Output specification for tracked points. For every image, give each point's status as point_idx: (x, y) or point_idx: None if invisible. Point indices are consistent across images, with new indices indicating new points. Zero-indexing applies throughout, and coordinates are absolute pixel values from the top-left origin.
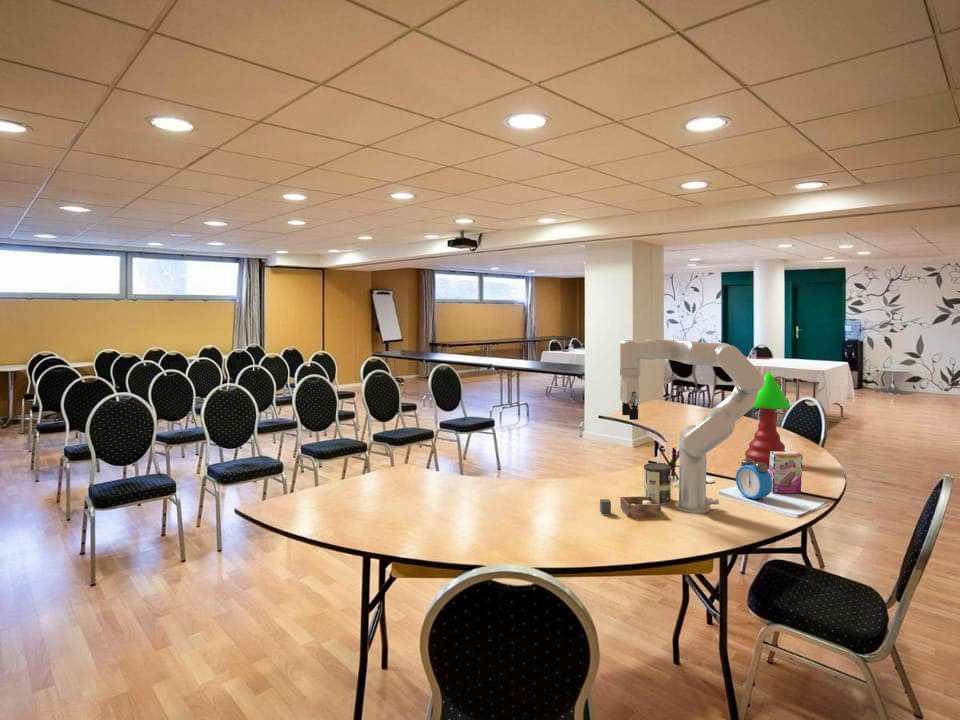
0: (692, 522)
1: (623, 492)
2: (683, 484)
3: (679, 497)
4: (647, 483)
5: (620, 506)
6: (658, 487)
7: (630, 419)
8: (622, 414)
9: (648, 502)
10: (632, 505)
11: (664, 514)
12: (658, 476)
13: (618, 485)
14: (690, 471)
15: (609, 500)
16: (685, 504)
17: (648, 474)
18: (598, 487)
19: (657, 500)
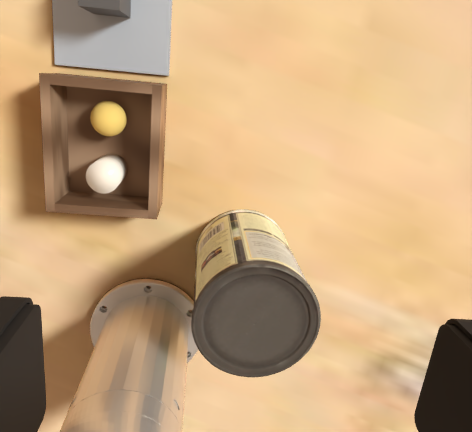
0: (18, 277)
1: (368, 174)
2: (109, 348)
3: (148, 311)
4: (231, 239)
5: (165, 84)
6: (197, 268)
7: (6, 305)
8: (460, 321)
9: (90, 178)
10: (40, 94)
11: (102, 223)
12: (196, 290)
13: (455, 186)
14: (70, 410)
15: (98, 6)
16: (117, 309)
17: (228, 259)
18: (459, 97)
19: (199, 243)
